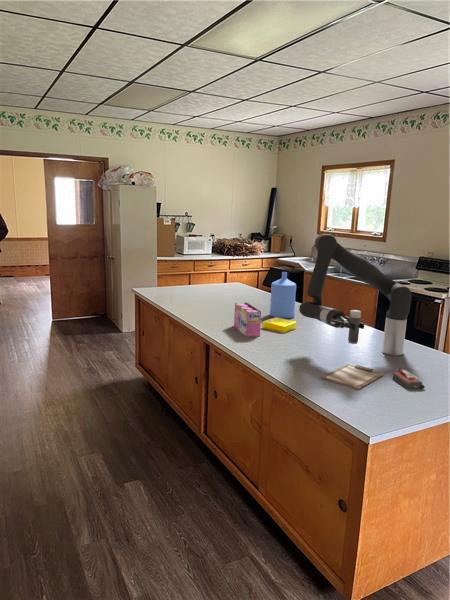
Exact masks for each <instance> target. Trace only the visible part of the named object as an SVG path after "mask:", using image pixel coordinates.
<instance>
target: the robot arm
mask: <svg viewBox="0 0 450 600" xmlns="http://www.w3.org/2000/svg"><path fill="white" fill-rule="evenodd" d="M314 247H315V249H316V251H317V253H316V260H315V264H314V267H313V271H312V272H311V274H310V275H311V276H310V278H309V282H308V285H307V291H306V295H307V297H310V298H312V301H303V302H301V303H300V305H299V307H298V311H299V313H300V314H301V315H302V316H303V317H306V318H310V319H313V320H314V319H315V320H317V321H319V322H321V323H324V324H326V325H328V326H331V327H333V328H336V329H338V328H340V329H344V328H345V329H349V328H350V329H352V330H355V328H356V325H355V324H352V323H350V316H347V315H346V314H345V312H343V311H342V310H339V309H336V308H334V307H333V308H332V307H328V306H324V305H323V291H324V288H325V287H324V286H325V282H326V278H327V274H328V269H329V266H330V264H331V261H332V260H334V261H335V262H337V263H338V264H339V265H340V266H341V267H342V268H343V269H344V270H346V271H347V272H348V273H350V274H351V275H353V277H355V278H357V279H358V280H360V282H361V281H362V282H363V283H365V284H367V285H369V286H370V287H373V288H374V289H377V290H378V291H379V292H380V293H381V294H383V295H384V296H385V297H386V298H387V299H388V300H389V301H390V302H389V308H388V310H387V311H386V313H385V314H386V315H385V324H384V331H383V332H384V336H383V342H382V352H383V354H386V355H390V356H396V357H397V356H402V355H404V354H403V353H404V347H405V346H404V345H405V339H406V330H407V322H408V315H409V314H410V310H411V304H412V290H411V289H410V288H409V287H407V286H406V285H404V284H402V283H399V282H397V281H395V280H393V279H391V278H390V277H387V276H386V275H385V273H383V272H382V271H381V270H380V269H379V268H378V267H377V266H375V264H374V263H372V262H370V261H369V260H367V259H366V258H364V257H363V256H361V255H359V254H358V253H355V252H353V251H351V250H349V249H347V248H346V247H344V246H343V245H342V244H340V243H339V242H338V241H337V239H336V237H335V236H334V235H332V234H330V233H329V234H328V233H322V234H319V235H318V236H317V237H316V239H315V240H314ZM359 329H362V330H364V329H365V323H363V322H362V320H361V319H360V326H359Z"/></svg>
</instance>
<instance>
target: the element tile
mask: <svg viewBox="0 0 450 600" xmlns="http://www.w3.org/2000/svg"><path fill="white" fill-rule="evenodd" d="M262 329H264V330H268V331H272V332H277V333H281V334H285V333H288V332H291V331H294V330H295V329H297V321H296V320H292V319H291V320H290V319H288V318H277V317H272V318H269V319H266V320H264V321H263V320H262Z"/></svg>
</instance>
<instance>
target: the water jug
mask: <svg viewBox="0 0 450 600" xmlns="http://www.w3.org/2000/svg"><path fill="white" fill-rule="evenodd" d="M270 291H271V292H270V308H269V316H271V317H272V316H273V317H272V318H275V317H277V318H282V319H291V318H294V317H295V313H296V312H295V308H296V292H297V283H295V282H293V281H291V280H290V279H288V272H287V271H282V272H281V278H280V279H277V280H275V281H273V282H272V283H271V287H270Z"/></svg>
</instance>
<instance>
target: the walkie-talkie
mask: <svg viewBox="0 0 450 600" xmlns="http://www.w3.org/2000/svg"><path fill="white" fill-rule="evenodd" d="M398 370H399V371H394V372H393V373H392V379H393V380H394V381H395V382H397V383H398V384H400V385H401V386H403V388H405V389H407V390H421V389H425V385H424V384H423V382H422V381H421V380H419V379H418V376H416V375H415V374H413V373H410V372H409V371H407V370H406V369H403V368H402V367H399V369H398Z"/></svg>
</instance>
